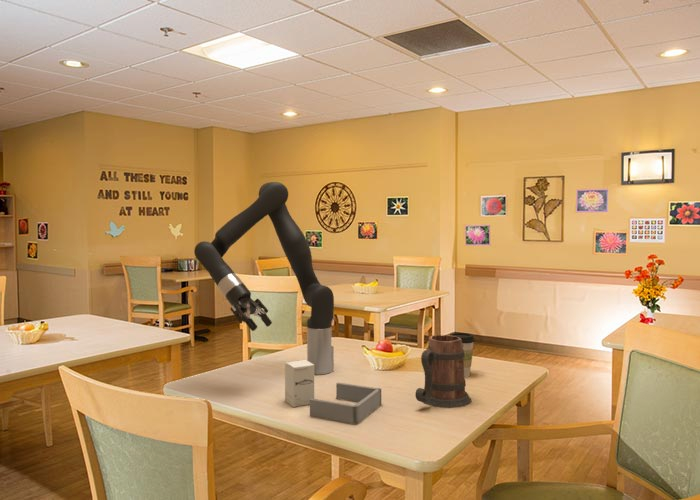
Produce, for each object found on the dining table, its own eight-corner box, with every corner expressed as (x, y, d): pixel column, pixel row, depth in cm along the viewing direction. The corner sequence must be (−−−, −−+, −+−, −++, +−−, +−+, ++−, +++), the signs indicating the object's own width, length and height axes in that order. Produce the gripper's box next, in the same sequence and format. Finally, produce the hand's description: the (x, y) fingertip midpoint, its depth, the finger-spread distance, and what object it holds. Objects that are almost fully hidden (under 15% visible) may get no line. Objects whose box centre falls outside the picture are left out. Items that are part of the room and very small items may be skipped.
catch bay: (309, 416, 158) (309, 399, 157) (338, 397, 174) (338, 382, 174) (356, 424, 151) (356, 407, 151) (381, 404, 168) (381, 388, 167)
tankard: (437, 387, 184) (437, 330, 183) (481, 398, 173) (482, 337, 172) (395, 405, 167) (396, 341, 166) (442, 418, 156) (442, 350, 155)
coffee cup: (445, 377, 196) (445, 336, 196) (450, 370, 206) (450, 331, 205) (472, 380, 193) (472, 338, 192) (476, 372, 202) (476, 333, 201)
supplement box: (293, 407, 165) (292, 367, 164) (284, 400, 171) (284, 361, 171) (315, 404, 168) (314, 364, 167) (305, 397, 175) (305, 358, 174)
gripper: (227, 284, 172) (257, 323, 168) (253, 280, 185) (281, 316, 181) (214, 299, 174) (243, 338, 170) (240, 294, 187) (267, 330, 183)
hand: (262, 327), depth 176 cm, fingers open, 8 cm apart
